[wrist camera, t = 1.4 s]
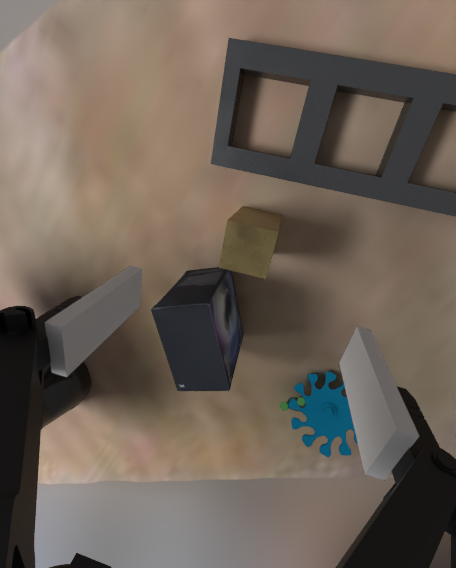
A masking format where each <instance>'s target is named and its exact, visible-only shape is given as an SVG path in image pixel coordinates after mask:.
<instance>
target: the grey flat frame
mask: <svg viewBox="0 0 456 568" xmlns="http://www.w3.org/2000/svg"><path fill="white" fill-rule="evenodd" d="M244 75H250V76H256V77H261V78H267V79H273V80H279V81H284V82H290V83H296V84H302V85H307V86H309V88H308V92H307V96H306V100H305V104H304V107H303V111H302V115H301V119H300V123H299V127H298V131H297V134H296V138H295V142H294V146H293V150H292V154H291V158H290V159H289V158H284V157H279V156H274V155H269V154H264V153H259V152H254V151H250V150H245V149H240V148H235V147H232V141H233V135H234V129H235V123H236V117H237V111H238V105H239V100H240V94H241V88H242V82H243V76H244ZM336 91H342V92H347V93H353V94H359V95H364V96H370V97H376V98H382V99H387V100H393V101H399V102H404V106H403V108H402V111H401V113H400V116H399V118H398V121H397V123H396V126H395V128H394V131H393V134H392V136H391V139H390V141H389V144H388V146H387V149H386V151H385V154H384V156H383V159H382V161H381V164H380V166H379V169H378V171H377V174H376V176H371V175H367V174H362V173H357V172H352V171H347V170H342V169H337V168H332V167H328V166H323V165H318V164H314V163H315V160H316V156H317V153H318V149H319V146H320V143H321V139H322V136H323V133H324V129H325V126H326V123H327V119H328V116H329V112H330V109H331V106H332V102H333V99H334V96H335V92H336ZM440 109H444V110H450V111H456V74H450V73H444V72H437V71H431V70H425V69H419V68H413V67H406V66H400V65H394V64H388V63H381V62H375V61H369V60H363V59H357V58H350V57H344V56H338V55H332V54H326V53H319V52H313V51H307V50H301V49H295V48H288V47H282V46H276V45H270V44H263V43H257V42H251V41H245V40H239V39H232V38H229V40H228V47H227V54H226V61H225V68H224V75H223V82H222V89H221V96H220V103H219V110H218V117H217V124H216V131H215V138H214V145H213V152H212V159H211V164H214V165H218V166H223V167H228V168H232V169H237V170H242V171H246V172H251V173H256V174H260V175H265V176H270V177H274V178H279V179H284V180H288V181H293V182H298V183H302V184H307V185H312V186H316V187H321V188H326V189H330V190H335V191H340V192H344V193H349V194H354V195H358V196H363V197H368V198H372V199H377V200H382V201H386V202H391V203H396V204H400V205H405V206H410V207H414V208H419V209H424V210H428V211H433V212H438V213H443V214H447V215H452V216H456V193H454V192H449V191H445V190H440V189H435V188H430V187H425V186H420V185H415V184H410V183H407V182H408V180H409V178H410V176H411V174H412V171H413V169H414V167H415V165H416V162H417V160H418V158H419V156H420V154H421V151H422V149H423V147H424V145H425V142H426V140H427V138H428V136H429V134H430V131H431V129H432V127H433V125H434V122H435V120H436V118H437V116H438V114H439V111H440Z"/></svg>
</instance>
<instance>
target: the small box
mask: <svg viewBox="0 0 456 568" xmlns="http://www.w3.org/2000/svg"><path fill="white" fill-rule="evenodd" d="M151 311H152V314H153V317H154V320H155V323H156V326H157V329H158V332H159V336H160V338H161V342H162V345H163V348H164V351H165V354H166V357H167V360H168V363H169V366H170V369H171V372H172V375H173V378H174V381H175V384H176V387H177V390H178V391H229V390H230V386H231V382H232V378H233V374H234V370H235V366H236V362H237V358H238V354H239V350H240V346H241V343H242V339H243V330H242V325H241V320H240V315H239V309H238V304H237V299H236V294H235V289H234V283H233V278H232V273H231V270H227V269H223V268H219V267H217V268H208V269H200V270H191V271H186V272H185V274H184V275H183V276H182V277H181V279H179V281H178V282H177V283H176V284H175V285H174V286H173V287H172V288H171V289H170V290H169V291H168V293H167V294H166V295H165V296H164V297H163V298H162V299H161V300H160V301H159V302H158V303H157V304H156V305H155V306H154V307H153V308H152V309H151Z"/></svg>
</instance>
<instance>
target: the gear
mask: <svg viewBox="0 0 456 568" xmlns="http://www.w3.org/2000/svg"><path fill="white" fill-rule="evenodd" d="M308 379H309V381H310V383H311V385H312V394H311V395H310V396H306V395H305V394H304V385H303V384H302V383H299V384H297V385H296V386H295V387H294V389H295V391H296V392H298V393H300V394H301V395H302V397H303V398H302V397H300V398H295V397H291V398H289V399H288V401H287V402H282V403H281V404H280V408H281V409H282V410H284V411H285V410H287V409H288V408H290V409H291V410H295V411H300V412H302V413H303V414H305V415H306V417H307V421H306V422H301V421H300V420H299V419H298V418H292V427H293V429H298V428H300V427H302V426H308V427H312V428H313V429H314V430H315V434H314V435H308V434H305V435H303V437H302V440H303V442H304V444H305V445H306V446H307V447H310V446H311V445H312V442H313V441H314V440H315V439H316V438H317V437H319V436H323V435H324V436H326V437H327V438H328V442H327V443H326V444H323V445H321V446H320V452H321V453H322V454H323V455H325V456H327V457H329V456H330V455H331V443H332V441H333V440H334V438H335V437H337V436H339V437H341V438H342V444H341V445H340V447H339V451H340V454H341V455H351V449H350V448H349V446H348V444H347V442H346V431H347V430H348V429H351V430H353V431H354V440H355V442H356V443H357V444H358V442H357V438H356V433H355V429H354V425H353V423H352V416H351V412H350V407H349V403H348V399H347V397H344V396H342V394H341V390H342V389H345V386H344V381H343V384H342V385H341V386H340V387H339V388H337V389H334V390H331V389H330V388H329V387H328V384H329V382H332V381H334V380H335V379H336V375H335V374H333V373H331V372H329V371H328V372H327V373H326V382H325V385H324V386H323V387H322V389H320V390H319V389H316V388H315V383H316V381H317V380H318V376H317V374H308Z"/></svg>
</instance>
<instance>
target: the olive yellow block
mask: <svg viewBox="0 0 456 568" xmlns="http://www.w3.org/2000/svg"><path fill="white" fill-rule="evenodd" d="M281 216H282V215H278V214H274V213H270V212H265V211H261V210H256V209H252V208H248V207H243V206H242V207H241V208H240V209H239V210H238V211H237V212H236V213H235V214H234V215H233V216H232V217H231V218H229V219H228V221H227V227H226V232H225V237H224V243H223V248H222V254H221V259H220V265H219V268H223V269H227V270H231V271H235V272H239V273H243V274H247V275H250V276H254V277H258V278H262V279H266V277H267V274H268V270H269V266H270V263H271V259H272V255H273V252H274V248H275V244H276V241H277V237H278V233H279V228H280V222H281Z"/></svg>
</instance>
